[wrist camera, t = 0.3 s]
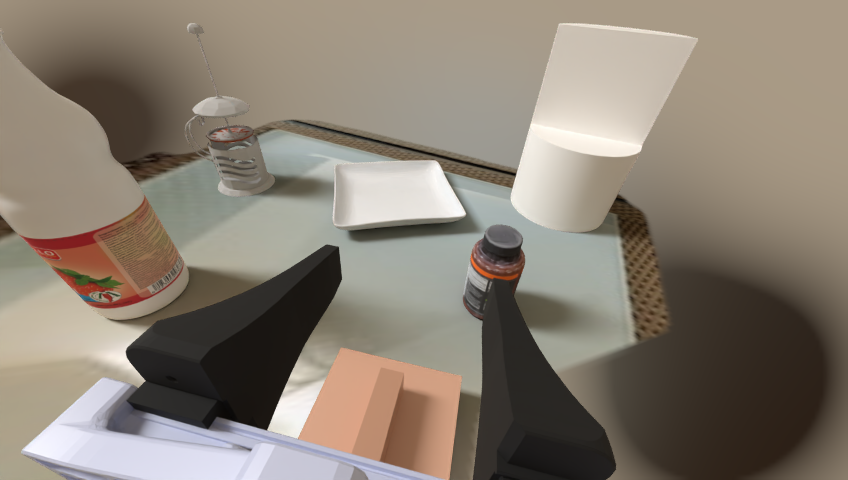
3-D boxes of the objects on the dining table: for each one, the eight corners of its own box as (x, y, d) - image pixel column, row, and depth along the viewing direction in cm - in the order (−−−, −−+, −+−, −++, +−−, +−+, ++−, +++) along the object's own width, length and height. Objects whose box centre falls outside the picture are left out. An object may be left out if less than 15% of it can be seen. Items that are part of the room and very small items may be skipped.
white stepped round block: (518, 175, 68) (563, 21, 50) (602, 195, 64) (684, 33, 46) (502, 215, 56) (553, 28, 38) (604, 244, 51) (718, 46, 33)
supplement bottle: (493, 282, 43) (514, 215, 36) (517, 316, 39) (545, 247, 31) (454, 291, 41) (467, 222, 34) (474, 328, 37) (494, 258, 30)
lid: (435, 578, 20) (442, 572, 17) (264, 523, 21) (245, 509, 19) (459, 383, 30) (466, 359, 27) (342, 355, 31) (337, 329, 28)
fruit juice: (201, 293, 38) (34, 13, 20) (101, 338, 33) (-243, 11, 15) (180, 254, 43) (31, 1, 25) (91, 287, 38) (-177, -4, 20)
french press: (269, 195, 56) (219, 29, 40) (198, 197, 54) (116, 23, 38) (279, 170, 63) (241, 21, 47) (217, 171, 61) (156, 16, 45)
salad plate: (335, 177, 63) (333, 161, 61) (435, 172, 68) (437, 158, 65) (334, 243, 47) (332, 225, 45) (466, 232, 52) (469, 215, 50)
